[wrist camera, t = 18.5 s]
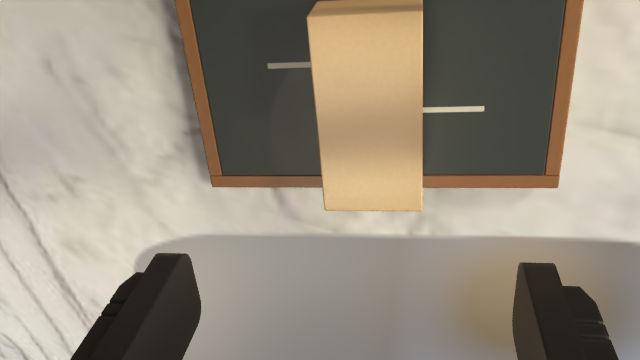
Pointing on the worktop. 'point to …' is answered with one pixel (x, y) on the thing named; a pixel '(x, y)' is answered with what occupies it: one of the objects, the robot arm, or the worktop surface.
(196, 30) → the chalkboard
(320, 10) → the eraser
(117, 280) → the worktop surface
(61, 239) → the worktop surface
